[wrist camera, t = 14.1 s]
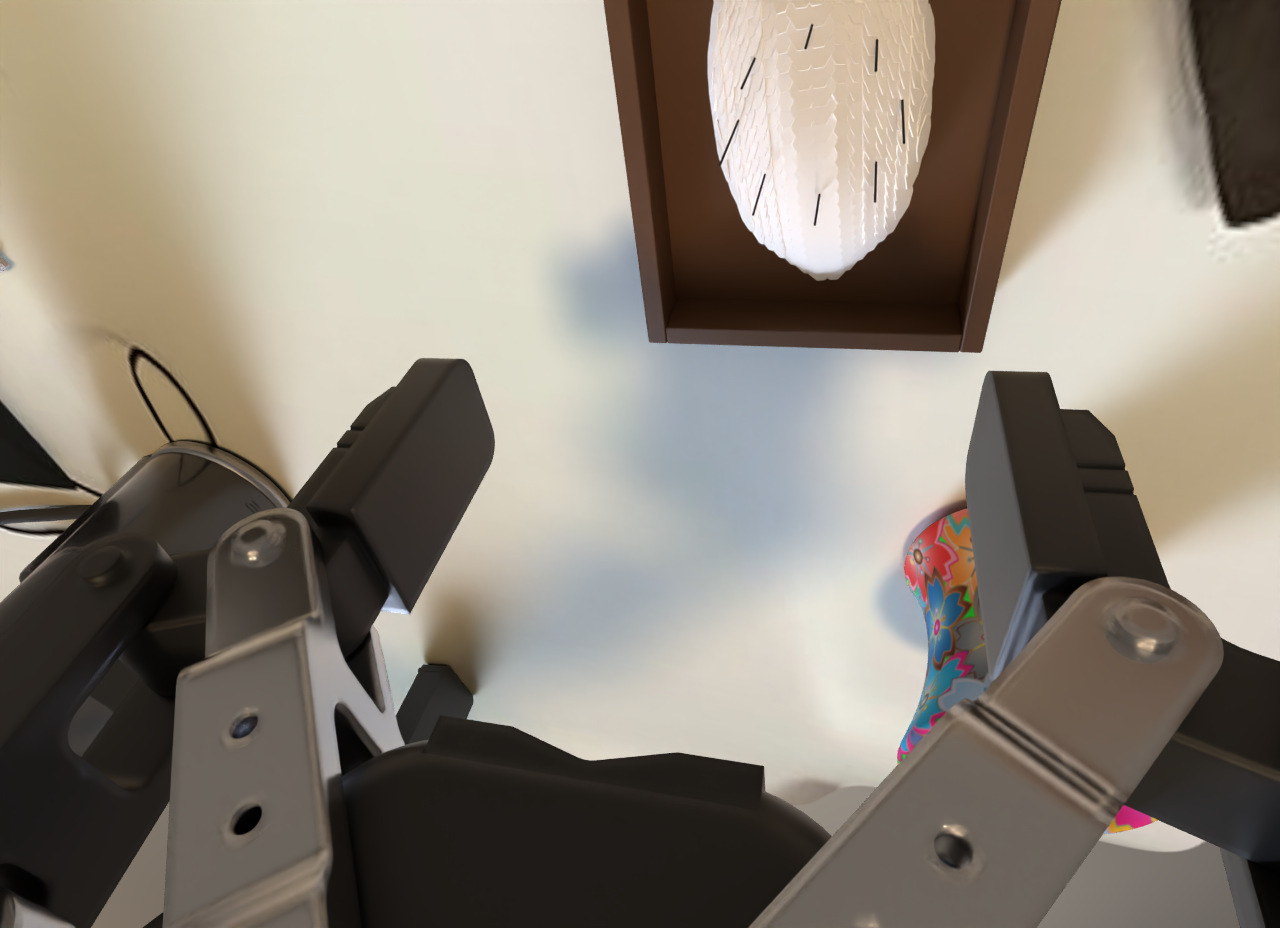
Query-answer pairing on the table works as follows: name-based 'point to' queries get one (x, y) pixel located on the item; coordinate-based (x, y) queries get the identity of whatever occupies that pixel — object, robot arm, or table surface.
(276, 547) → the robot arm
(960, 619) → the mug
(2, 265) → the caliper
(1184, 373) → the table surface
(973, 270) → the tray
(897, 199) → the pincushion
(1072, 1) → the table surface
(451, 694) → the ink cartridge
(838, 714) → the table surface
